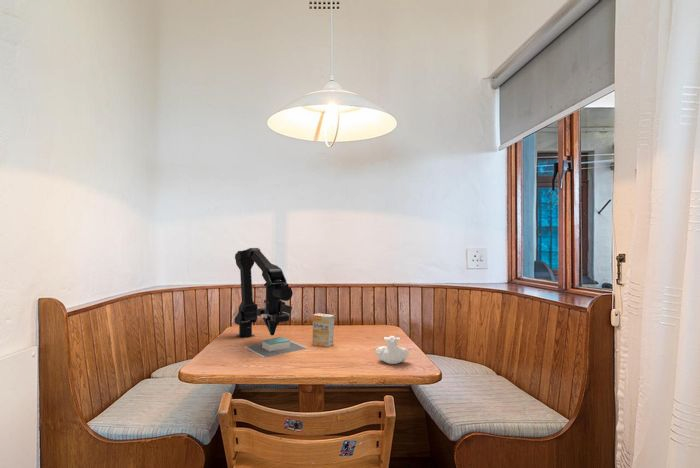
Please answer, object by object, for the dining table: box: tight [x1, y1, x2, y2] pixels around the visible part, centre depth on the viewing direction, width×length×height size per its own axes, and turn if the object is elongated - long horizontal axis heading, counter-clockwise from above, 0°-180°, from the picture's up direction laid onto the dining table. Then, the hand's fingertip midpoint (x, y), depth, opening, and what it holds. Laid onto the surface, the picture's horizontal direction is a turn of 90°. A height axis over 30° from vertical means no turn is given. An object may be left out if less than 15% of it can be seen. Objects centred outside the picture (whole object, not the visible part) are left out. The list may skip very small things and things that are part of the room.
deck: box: [261, 336, 291, 351], centre depth 154 cm, size 3×9×7 cm
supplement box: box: [311, 312, 335, 348], centre depth 159 cm, size 8×5×13 cm, turn 65°
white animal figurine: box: [375, 335, 409, 365], centre depth 136 cm, size 12×8×11 cm
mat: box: [244, 340, 309, 359], centre depth 154 cm, size 18×20×1 cm
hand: (272, 335), depth 157 cm, fingers closed
